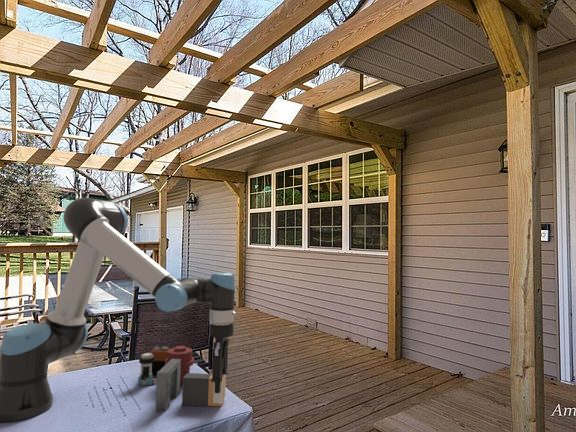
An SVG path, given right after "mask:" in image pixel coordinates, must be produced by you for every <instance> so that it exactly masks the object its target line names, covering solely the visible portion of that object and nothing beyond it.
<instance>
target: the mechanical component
mask: <svg viewBox="0 0 576 432" xmlns="http://www.w3.org/2000/svg"><path fill="white" fill-rule="evenodd" d="M171 359H181V372H180V386H181V385H183V377H184V376H185V375H186V374H187V373H191V372H190V370H191V368H190V367H192V366H193V365H194V364H195V357H194V356H193V349H192V348H191V347H186V346H185V345H177V346H174V347H173V348H171V349H170V350H168V358H167V359H166V360H165V365H166V364H167V363H168V362H169V361H170V360H171Z"/></svg>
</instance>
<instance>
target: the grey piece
mask: <svg viewBox="0 0 576 432" xmlns="http://www.w3.org/2000/svg"><path fill="white" fill-rule="evenodd" d="M180 372H181V359H171V360H170V361H169V362H168V363H167V364H166V365H165V366H164V367H163V368H162V369H161V370H160V371H158V372H157V376H156V379H157V380H156V382H157V383H156V386H155V387H156V388H155V389H156V390H155V391H156V392H155V408H154V409H155V412H163V413H165V412H167V411H168V409H169V408H170V405H171V399H176V398H177V397H178V396H179V395H180V394H181V391H180V390H181V389H180V387H181V385H180Z"/></svg>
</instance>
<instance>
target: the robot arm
mask: <svg viewBox="0 0 576 432" xmlns="http://www.w3.org/2000/svg"><path fill="white" fill-rule="evenodd" d="M128 221H129V220H128V214H127V213H126V209H124V207H123V206H121V205H120V204H118V203H116V202H113V201H110V200H103V199H96V198H92V197H80V198H77V199H75V200H73V201H70V203H69V204H68V205H67V206H66V207H65V209H64V211H63V223H64V225H65V227H66V229H67V230H68V231H69V233H70V234H72V235H73V236H74V237H75V238H76V239H77V240H78V244H77V248H76V249H75V253H74V256H73V259H72V261H71V264H70V267H69V268H68V272H67V275H66V278H65V281H64V283H63V286H62V289H61V291H60V294H59V296H58V300H57V303H56V306H55V308H54V310H52V311H50V312H48V313H47V315H46V318H45V322H44V323H43V322H42V323H41V322H39V323H38V322H36V323H29V324H25V325H24V324H23V325H19V326H16V327H13V328H10V330H7V331H6V332H5V333H4V334H3V336H2V338H1V344H0V423H9V422H18V421H22V420H26V419H30V418H33V417H35V416H38V415H41V414H43V413H44V412H46V411H48V410H49V409H50V408H51V407H52V406H53V401H54V397H53V393H52V390H51V386H50V384H49V380H48V372H49V364H51V363H54V362H57V361H59V360H60V359H64V358H66V357H69V356H71V355H73V354H75V352H78V351H80V349H82V348H83V346H84V345H85V344H86V341H87V339H88V336H89V334H88V333H89V330H88V329H87V319H86V317H85V315H84V314H85V312H86V309H87V307H88V303H89V300H90V298H91V295H92V291H93V289H94V287H95V283H96V281H97V278H98V275H99V272H100V269H101V267H102V263H103V261H104V258H107V259H108V260H109V261H110V262H111V263H113V264H114V265H115V266H116V267H117V268H118V269H120V270H121V271H122V272H124V273H125V274H126V275H127V276H129V277H130V278H131V279H132V280H134V281H135V282H136V283H137V284H138V285H140V286H141V287H142V288H143V289H144V290H146V291H147V292H148V294H151V295H152V296H153V297H154V300H155V304H156V306H157V307H158V308H159V309H160V310H161V311H162V312H167V313H171V312H176V311H179V310H181V309H182V308H184V307H186V306H189V305H191V304H195V303H199V304H200V303H203V304H209V322H210V323H209V326H208V327H209V328H208V329H209V331H208V332H209V333H208V335H209V336H210V337H212V338H215V341H214V342H213V347H212V351H211V352H212V364H211V366H212V371H211V374H212V379H211V382H214V386H213V403H222V396H223V380H222V374H225V377H224V398H225V397H226V387H227V385H226V384H227V375H229V372H230V371H229V370H228V363H229V362H228V357H229V341H230V340H229V337H230V338H231V337H233V336H234V332H235V331H234V327H235V324H234V323H233V322H234V321H235V318H234V317H235V316H236V315H237V313H236V312H235V297H236V296H235V295H236V294H235V292H236V285H235V284H236V283H235V282H236V280H235V279H236V278H235V275H234V273H231V272H213V273H211V275H210V278H192V277H179V278H176V277H175V276H174V275H172V274H171V273H170V272H168V271H167V270H166V269H165V268H163V267H162V266H161V265H160V264H159V263H157V262H156V261H155V260H154V259H152V258H151V257H150V256H149V255H147V253H145V252H144V251H142V249H140V248H139V247H138V246H136V245H135V244H134V243H133V242H131V241H130V239H128V238H127V237H125V236H124V235H123V233H124V232H125V231H126V229H127V226H128V224H129V222H128ZM222 404H223V403H222Z"/></svg>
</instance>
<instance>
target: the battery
mask: <svg viewBox="0 0 576 432" xmlns="http://www.w3.org/2000/svg"><path fill="white" fill-rule="evenodd" d="M170 349H172V348H169V346H162V347H159V346H155V347H154V348H153V349H152V350H150V352H149V353H152V355H153V356H155V359H154V362H152V375H154V377H157V372H158V371H160V370H161V369H162V368H163V367H164V366H165V360H166V359H167V358H168V350H170Z"/></svg>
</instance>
